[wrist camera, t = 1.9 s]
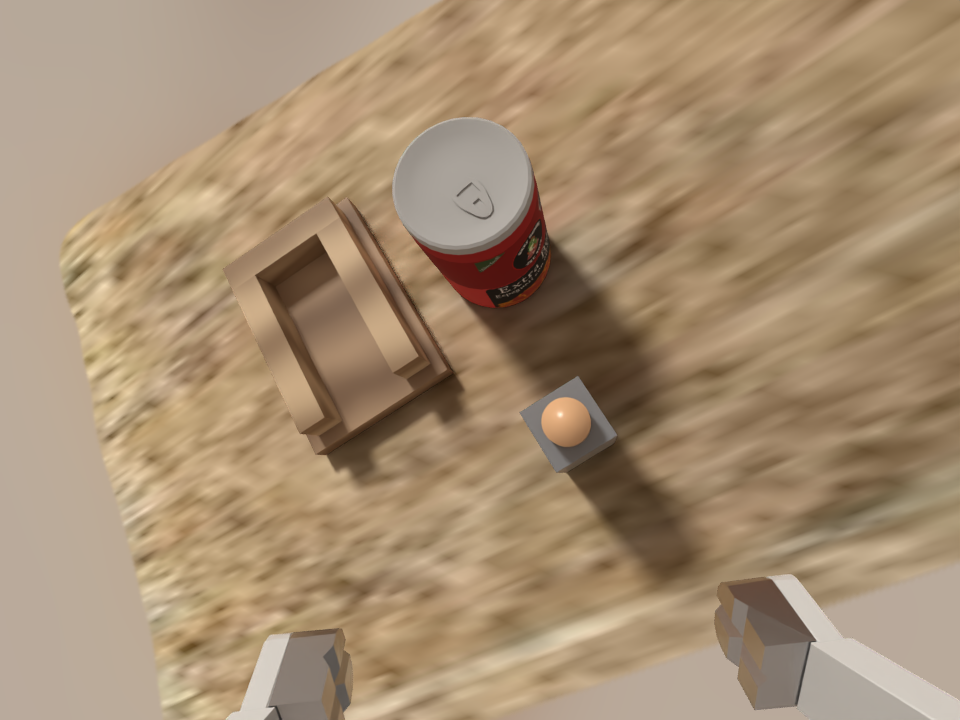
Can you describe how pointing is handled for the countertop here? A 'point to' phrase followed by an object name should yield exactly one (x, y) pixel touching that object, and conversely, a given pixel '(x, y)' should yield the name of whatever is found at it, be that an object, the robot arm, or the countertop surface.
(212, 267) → the countertop surface
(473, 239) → the canned food
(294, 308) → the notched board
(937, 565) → the countertop surface
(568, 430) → the block with orange ball
